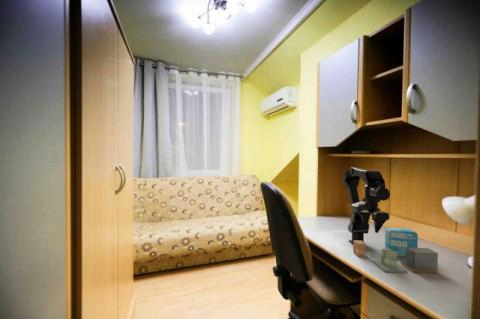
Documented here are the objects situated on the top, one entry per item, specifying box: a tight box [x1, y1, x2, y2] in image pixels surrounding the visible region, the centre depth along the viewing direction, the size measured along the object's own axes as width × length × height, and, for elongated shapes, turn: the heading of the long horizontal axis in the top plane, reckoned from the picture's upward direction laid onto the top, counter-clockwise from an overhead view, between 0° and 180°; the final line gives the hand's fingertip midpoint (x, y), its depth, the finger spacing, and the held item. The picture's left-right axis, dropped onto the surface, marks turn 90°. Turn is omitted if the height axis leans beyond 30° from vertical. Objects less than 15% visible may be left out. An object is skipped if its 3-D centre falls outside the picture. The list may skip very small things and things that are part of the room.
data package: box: [384, 227, 419, 258], centre depth 108 cm, size 12×4×12 cm, turn 77°
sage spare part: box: [380, 248, 398, 267], centre depth 95 cm, size 4×4×6 cm
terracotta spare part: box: [352, 240, 367, 257], centre depth 107 cm, size 4×4×6 cm
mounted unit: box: [400, 247, 440, 274], centre depth 94 cm, size 7×10×8 cm
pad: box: [371, 259, 408, 274], centre depth 95 cm, size 9×9×1 cm
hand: (370, 229), depth 107 cm, fingers open, 9 cm apart
